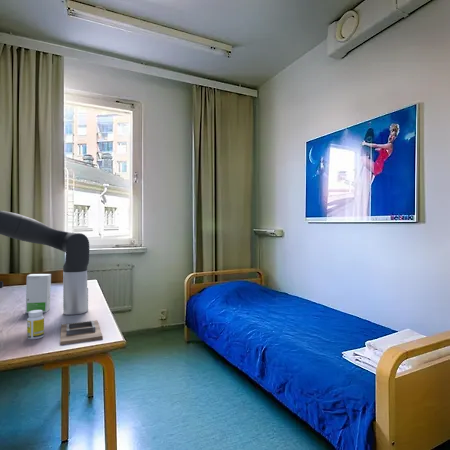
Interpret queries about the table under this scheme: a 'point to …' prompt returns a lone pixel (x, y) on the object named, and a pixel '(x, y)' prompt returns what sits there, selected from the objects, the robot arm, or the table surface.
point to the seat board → (80, 332)
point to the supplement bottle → (35, 324)
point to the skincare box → (38, 292)
